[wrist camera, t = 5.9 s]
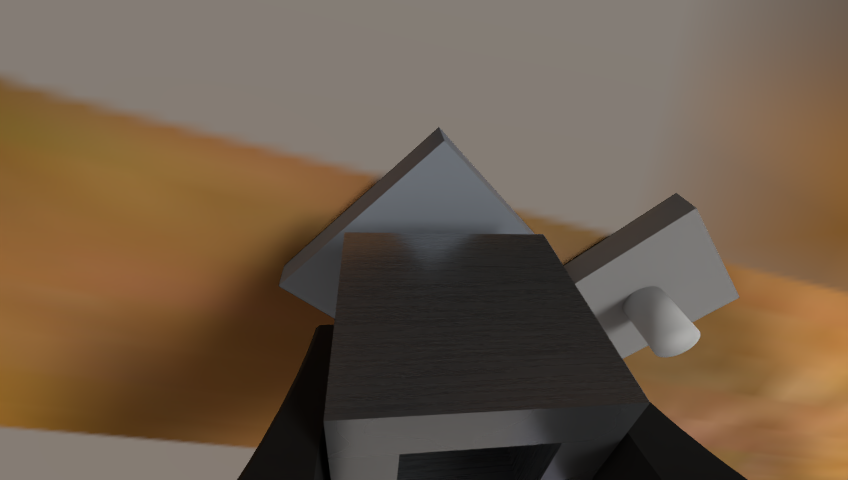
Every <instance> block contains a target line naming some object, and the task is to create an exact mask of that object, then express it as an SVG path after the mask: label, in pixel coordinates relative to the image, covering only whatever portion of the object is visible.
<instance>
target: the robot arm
mask: <svg viewBox="0 0 848 480" xmlns="http://www.w3.org/2000/svg"><path fill="white" fill-rule="evenodd" d="M333 331H334V325H320V326H318V327H317V328H316V330H315V333H314V336H313V339H312V341H311V344H310V346H309V349H308V351H307V354H306V356H305V358H304V361H303V363H302V365H301V367H300V369H299V372H298V374H297V376H296V378H295V380H294V382H293V384H292V386H291V388H290V390H289V392H288V394H287V396H286V398H285V400H284V402H283V404H282V405H281V407H280V409H279V411H278V413H277V414H276V416H275V418H274V420H273V422H272V423H271V425H270V427H269V429H268V430H267V432H266V434H265V436H264V437H263V439H262V441H261V443H260V444H259V446H258V447H257V449H256V451H255V452H254V454H253V456H252V457H251V459H250V461H249V462H248V464H247V465H246V467H245V468H244V470H243V472H242V473H241V475H240V476H239V478H238V479H237V480H331V477H330V469H329V461H328V453H327V445H326V437H325V430H324V422H323V421H324V412H325V403H326V394H327V385H328V376H329V367H330V358H331V349H332V340H333ZM591 480H747V479H746V478H745V477H743V476H742V475H740V474H739V473H738V472H736V471H735V470H733V469H732V468H731V467H729V466H728V465H727V464H725V463H724V462H723V461H721V460H720V459H719V458H717V457H716V456H715V455H713V454H712V453H711V452H709V451H708V450H707V449H706V448H704V447H703V446H702V445H701V444H699V443H698V442H697V441H696V440H694V439H693V438H692V437H691V436H689V435H688V434H687V433H686V432H684V431H683V430H682V429H681V428H679V427H678V426H677V425H676V424H675V423H673V422H672V421H671V420H670V419H669V418H667V417H666V416H665V415H664V414H663V413H662V412H661V411H660V410H658V409H657V408H656V407H655V406H654V405H653V404H652V403H651V402H650V404H649V405H648V406H647V407H646V409H645V410H644V411H643V413H642V414H641V415H640V417H639V418H638V419H637V420H636V422H635V423H634V424H633V426H632V427H631V428H630V430H629V431H628V432H627V433H626V435H625V436H624V437H623V439H622V440H621V441H620V443H619V444H618V445H617V446H616V448H615V449H614V450H613V452H612V453H611V454H610V456H609V457H608V458H607V459H606V461H605V462H604V463H603V465H602V466H601V467H600V469H599V470H598V471H597V472H596V474H595V475H594V476H593V478H592V479H591Z"/></svg>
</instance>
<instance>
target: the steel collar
mask: <svg viewBox="0 0 848 480" xmlns="http://www.w3.org/2000/svg"><path fill="white" fill-rule="evenodd" d="M649 404H650V402H649V400H648V399H647V397H646V395H645V394H644V392H643V391H642V389H641V387H640V386H639V384H638V383H637V381H636V380H635V378H634V376H633V375H632V373H631V372H630V370H629V369H628V367H627V365H626V364H625V362H624V361H623V359H622V358H621V356H620V354H619V353H618V351H617V350H616V348H615V346H614V345H613V343H612V342H611V340H610V339H609V337H608V335H607V334H606V332H605V331H604V329H603V328H602V326H601V324H600V323H599V321H598V320H597V318H596V317H595V315H594V313H593V312H592V310H591V309H590V307H589V306H588V304H587V302H586V301H585V299H584V298H583V296H582V294H581V293H580V291H579V290H578V288H577V287H576V285H575V283H574V282H573V280H572V279H571V277H570V276H569V274H568V272H567V271H566V269H565V268H564V266H563V265H562V263H561V261H560V260H559V258H558V257H557V255H556V253H555V252H554V250H553V249H552V247H551V246H550V244H549V242H548V241H547V239H546V238H545V236H544V235H543V234H456V233H359V232H344V241H343V250H342V259H341V268H340V277H339V286H338V295H337V304H336V313H335V322H334V331H333V340H332V349H331V358H330V367H329V376H328V385H327V394H326V403H325V412H324V421H323V422H324V430H325V437H326V445H327V453H328V461H329V469H330V477H331V480H591V479H592V478H593V476H594V475H595V474H596V472H597V471H598V470H599V469H600V467H601V466H602V465H603V463H604V462H605V461H606V459H607V458H608V457H609V456H610V454H611V453H612V452H613V450H614V449H615V448H616V446H617V445H618V444H619V443H620V441H621V440H622V439H623V437H624V436H625V435H626V433H627V432H628V431H629V430H630V428H631V427H632V426H633V424H634V423H635V422H636V420H637V419H638V418H639V417H640V415H641V414H642V413H643V411H644V410H645V409H646V407H647V406H648V405H649Z"/></svg>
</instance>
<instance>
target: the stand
mask: <svg viewBox="0 0 848 480" xmlns="http://www.w3.org/2000/svg"><path fill="white" fill-rule="evenodd" d="M564 268H565V269H566V271H567V272H568V274H569V276H570V277H571V279H572V280H573V282H574V283H575V285H576V287H577V288H578V290H579V291H580V293H581V294H582V296H583V298H584V299H585V301H586V302H587V304H588V306H589V307H590V309H591V310H592V312H593V313H594V315H595V317H596V318H597V320H598V321H599V323H600V324H601V326H602V328H603V329H604V331H605V332H606V334H607V335H608V337H609V339H610V340H611V342H612V343H613V345H614V346H615V348H616V350H617V351H618V353H619V354H620V356H621V358H622V359H623V358H625V357H627V356H629V355H631V354H633V353H634V352H636V351H638V350H640V349H642V348H644V347H646V346H648V345H649V346H650V348H651V349H652V350H653V352H654V353H655V354H656V355H657V356H659V357H672V356H676V355H679V354H681V353H683V352H685V351H687V350H689V349H690V348H691V347H693V346H694V345H695V344H696V343H697V342H698V340H699V338H700V331H699V330H698V329H697V328H696V327H695V326H694V325H693V323H692V322H694V321H695V320H697V319H699V318H701V317H703V316H705V315H707V314H709V313H711V312H713V311H714V310H716V309H718V308H720V307H722V306H724V305H726V304H728V303H730V302H732V301H733V300H735V299H737V298H739V295H738V293H737V291H736V289H735V287H734V285H733V283H732V281H731V279H730V277H729V275H728V272H727V270H726V268H725V266H724V264H723V262H722V260H721V258H720V256H719V254H718V252H717V250H716V248H715V246H714V244H713V242H712V239H711V238H710V235H709V233H708V231H707V229H706V227H705V225H704V223H703V221H702V219H701V217H700V215H699V212H698V210H697V208H696V207H694V206H693V205H692V204H690V203H689V202H688V201H686V200H685V199H684V198H682V197H681V196H680V195H678V194H677V193H675V194H674V195H672V196H671V197H669V198H668V199H666V200H665V201H663V202H661V203H660V204H658V205H657V206H656V207H654V208H652V209H651V210H649V211H648V212H646V213H645V214H643V215H641V216H640V217H638V218H637V219H635V220H634V221H632V222H631V223H629V224H628V225H626V226H625V227H623V228H621V229H620V230H618V231H617V232H615V233H614V234H612V235H611V236H609V237H607V238H606V239H604V240H603V241H601V242H600V243H598V244H597V245H595V246H594V247H592V248H591V249H589V250H587V251H586V252H584V253H583V254H581V255H580V256H578V257H577V258H575V259H574V260H572V261H570V262H569V263H567V264H566V265H564Z"/></svg>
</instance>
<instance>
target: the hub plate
mask: <svg viewBox="0 0 848 480" xmlns="http://www.w3.org/2000/svg"><path fill="white" fill-rule="evenodd" d="M344 232H359V233H456V234H534V233H533V232H532V230H531V229H530V228H529V227H528V226H527V225H526V224H525V223H524V221H523V220H522V219H521V218H520V217H519V216H518V215H517V214H516V213H515V211H514V210H513V209H512V208H511V207H510V206H509V205H508V204H507V203H506V201H505V200H504V199H503V198H502V197H501V196H500V195H499V194H498V193H497V191H496V190H495V189H494V188H493V187H492V186H491V185H490V184H489V183H488V182H487V180H486V179H485V178H484V177H483V176H482V175H481V174H480V172H479V171H478V170H477V169H476V168H475V167H474V166H473V165H472V163H471V162H470V161H469V160H468V159H467V158H466V157H465V156H464V155H463V154H462V152H461V151H460V150H459V149H458V148H457V147H456V146H455V145H454V143H452V141H451V140H450V139H449V138H448V137H447V136H446V134H445V133H444V132H443V131H442V130H441V129H440V128H437V129H436V130H435V131H434V132H433V133H432V134H431V135H430V136H429V137H427V138H426V139H425V140H424V141H423V142H422V143H421V144H420V145H419V146H417V147H416V148H415V149H414V150H413V151H412V152H411V153H410V154H408V156H406V157H405V158H404V159H403V160H402V161H401V162H400V163H398V164H397V165H396V166H395V167H394V168H393V169H392V170H391V171H389V172H388V173H387V174H386V175H385V176H384V177H383V178H382V179H381V180H379V181H378V182H377V183H376V184H375V185H374V186H373V187H372V188H371V189H369V190H368V191H367V192H366V193H365V194H364V195H363V196H362V197H360V198H359V199H358V200H357V201H356V202H355V203H354V204H353V205H352V206H350V207H349V208H348V209H347V210H346V211H345V212H344V213H343V214H342V215H340V216H339V217H338V218H337V219H336V220H335V221H334V222H333V223H332V224H330V225H329V226H328V227H327V228H326V229H325V230H324V231H323V232H321V233H320V234H319V235H318V236H317V237H316V238H315V239H314V240H313V241H311V242H310V243H309V244H308V245H307V246H306V247H305V248H304V249H303V250H301V251H300V252H299V253H298V254H297V255H296V256H295V257H294V258H292V259H291V260H290V261H289V262H288V263H287V264H286V265H285V266H284V268H283V272H282V276H281V279H280V283H279V287H281V288H283V289H285V290H286V291H288V292H290V293H291V294H293V295H295V296H297V297H298V298H300V299H302V300H303V301H305V302H307V303H309V304H310V305H312V306H314V307H315V308H317V309H319V310H321V311H322V312H324V313H326V314H327V315H329V316H331V317H333V318H334V319H335V313H336V304H337V295H338V286H339V277H340V268H341V259H342V250H343V241H344Z"/></svg>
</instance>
